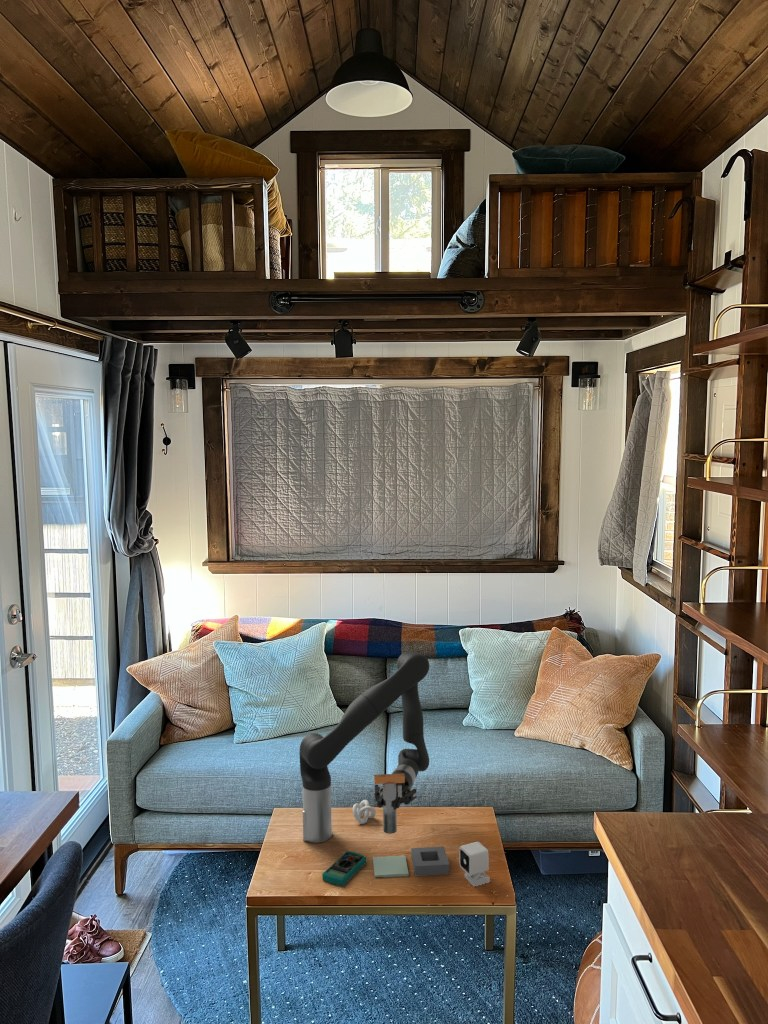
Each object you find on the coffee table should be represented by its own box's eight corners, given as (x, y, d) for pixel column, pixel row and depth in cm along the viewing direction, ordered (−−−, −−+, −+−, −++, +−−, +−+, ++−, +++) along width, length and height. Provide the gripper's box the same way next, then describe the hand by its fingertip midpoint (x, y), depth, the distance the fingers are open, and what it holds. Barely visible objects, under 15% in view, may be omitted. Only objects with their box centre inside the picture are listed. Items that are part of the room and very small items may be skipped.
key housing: (415, 876, 221) (415, 866, 220) (411, 857, 231) (411, 848, 230) (449, 874, 221) (449, 864, 221) (443, 855, 231) (443, 846, 231)
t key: (375, 834, 222) (374, 779, 221) (374, 827, 226) (373, 773, 224) (405, 832, 223) (405, 777, 221) (404, 826, 227) (403, 771, 225)
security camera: (459, 878, 219) (459, 845, 219) (479, 872, 222) (479, 839, 222) (470, 889, 214) (470, 855, 213) (491, 883, 217) (491, 849, 216)
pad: (374, 877, 220) (374, 875, 220) (372, 859, 230) (372, 857, 230) (408, 876, 221) (408, 873, 220) (405, 857, 230) (405, 855, 230)
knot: (363, 828, 249) (363, 811, 248) (346, 821, 254) (345, 804, 254) (378, 820, 255) (378, 803, 254) (360, 812, 260) (360, 796, 259)
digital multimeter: (367, 863, 229) (367, 854, 228) (342, 888, 215) (342, 878, 215) (347, 857, 232) (347, 848, 232) (321, 882, 219) (321, 872, 219)
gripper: (379, 767, 239) (363, 790, 222) (423, 771, 235) (410, 796, 219) (380, 789, 239) (364, 815, 223) (423, 794, 236) (410, 820, 219)
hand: (387, 805), depth 221 cm, fingers closed on t key, 4 cm apart
